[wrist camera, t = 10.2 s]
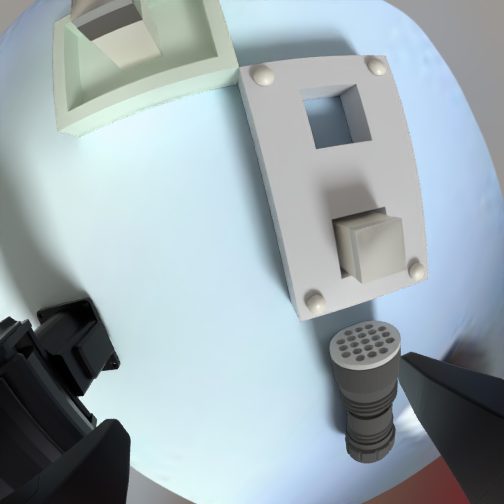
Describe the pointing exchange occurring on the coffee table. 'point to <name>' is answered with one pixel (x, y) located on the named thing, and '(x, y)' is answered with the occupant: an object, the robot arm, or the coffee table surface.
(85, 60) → the parts tray
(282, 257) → the fuse block
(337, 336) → the flashlight
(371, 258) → the block
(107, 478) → the robot arm
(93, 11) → the block
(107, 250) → the coffee table surface
